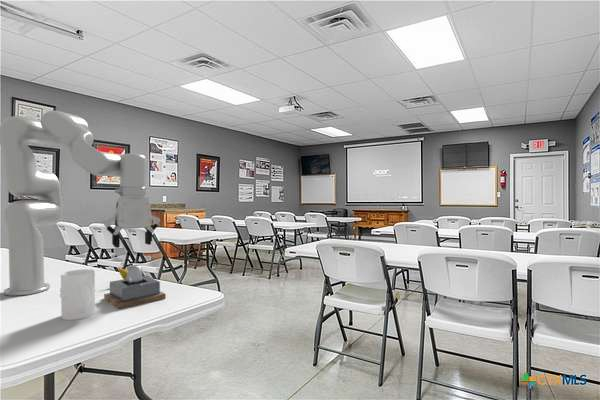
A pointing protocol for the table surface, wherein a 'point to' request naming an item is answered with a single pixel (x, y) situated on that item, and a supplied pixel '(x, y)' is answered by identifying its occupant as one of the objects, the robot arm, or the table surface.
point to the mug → (77, 294)
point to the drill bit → (123, 273)
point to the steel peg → (134, 274)
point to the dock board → (134, 302)
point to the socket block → (134, 289)
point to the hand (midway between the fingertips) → (132, 245)
